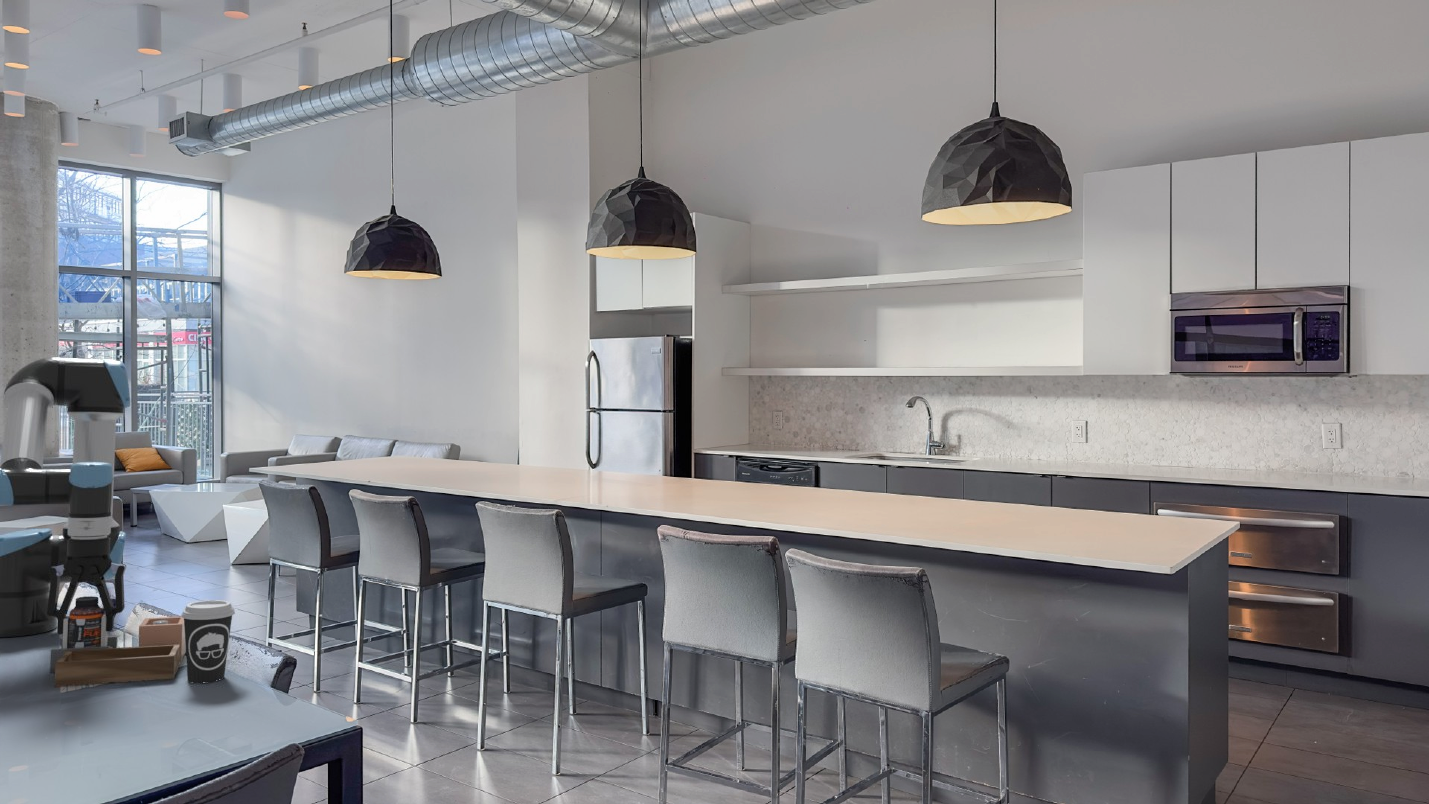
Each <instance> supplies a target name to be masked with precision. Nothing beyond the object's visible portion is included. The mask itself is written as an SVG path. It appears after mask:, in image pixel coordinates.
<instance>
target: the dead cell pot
mask: <svg viewBox="0 0 1429 804" xmlns="http://www.w3.org/2000/svg"><path fill="white" fill-rule="evenodd" d="M137 641H138V643H137V644H138V645H137V647H139V646H156V645H173V644H180V662H179V663H182V661H183V659H184V658H185V656H186V643H185V627H184V618H182V617H181V616H166V617H165V616H164V617H163V616H162V617H145V618H143V620H142V621H141V623H140V624H139V626H138V640H137Z"/></svg>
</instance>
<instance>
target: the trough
mask: <svg viewBox="0 0 1429 804" xmlns="http://www.w3.org/2000/svg"><path fill="white" fill-rule="evenodd" d="M180 663H181V662H180V644H173V645H156V646H139V647H138V646H125V647H117V648H104V649H87V650H69V651H67V652H66V653H65V654H64V655H63V656H62V657H61V658H60V659H59V660H58V661H57V662H56V663H55V673H54V688H56V687H59V688H60V687H73V686H86V685H85V684H88V685H99V684H100V683H102V684H108V683H107V682H116V683H126V681H127V683H129V682H128V681H131V682H142V680H145V681H158V680H157V679H159V680H171V679H173V680H174V677H175V676H176V674H177V671H178V669H179V667H180ZM155 679H156V680H155ZM100 685H101V684H100Z"/></svg>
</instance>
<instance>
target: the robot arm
mask: <svg viewBox="0 0 1429 804" xmlns="http://www.w3.org/2000/svg"><path fill="white" fill-rule="evenodd" d="M129 385H130V384H129V377H128V371H127V367H126V365H125V363H124V362H122V361H120V360H114V359H107V358H106V359H105V358H78V357H77V358H75V357H59V356H51V357H50V356H49V357H44V358H39V359H36V360H34V361H32V362H30V363H28V364H26V365H25V366H23V367H22V368H20V369H19V370H17V371H16V372H15V373H14V375H12V376H11V378H10V379H9V380H8V382H7V384H6V386H5V388H4V392H3V404H4V406H5V407H6V408H7V410H6V419H5V425H4V432H3V433H4V434H3V442H2V448H1V454H0V455H1V456H0V506H7V507H12V506H33V505H34V506H35V505H38V506H40V505H41V506H42V505H68V517H67V518H68V519H67V520H68V521H67V522H66V523H65V524H64V525H62V534H53V531H52V529H51V528H47V527H44V528H32V529H24V530H19V531H12V532H8V533H4V534H0V638H13V637H24V636H32V635H38V634H43V633H48V632H49V631H52V630H55V629H56V630H57V631H56V632H57V634H59V635H60V634H61V635H62V639H63V649H65V648H68V632H69V616H68V612H69V609H70V607H71V604H72V602H73V599H74V597H75V594H76V592H77V590H78V587H79V585H80V583H85V582H86V583H87V582H89V583H94V585H95V587H96V589H97V592H98V594H99V598H100V601H101V604H102V607H103V611H104V613H105V614H103V616H102V622H101V646H107V638H108V636H109V635H108V633H109V632H112V631H113V630H114V627H115V615H116V614H120V613H122V612H123V611H124V610H125V607H126V606H125V586H124V585H125V582H124V574H125V571H126V569H127V564H125V563H122V561H123V557H124V555H123V554H124V551H125V543H126V538H127V533H126V532H124V531H122V530H121V531H120V524H119V523H118V522H117V521H116V520H115V519H114V517H113V510H114V484H115V482H114V481H115V480H114V479H115V458H116V457H115V456H116V455H115V454H116V428H117V425H116V423H117V420H119V419H120V418H121V417H122V416H123V415H124V408H125V409H128V408H129V407H131V397H130V388H129ZM53 406H59V407H60V406H64V407H67V409H66V414H67V415H68V416H69V417H70V418H71V419H72V420H73V422H74V423H73V448H72V449H73V451H72V452H73V453H72V464H71V465H70V468H52V469H50V468H44V456H45V448H46V447H45V446H46V437H47V423H48V422H47V421H48V414H49V411H50V410H51V409H52V407H53ZM109 580H114V590H115V591H114V594H115V596H114V597H115V606H114V605H113V601H112V599H111V595H110V593H109V589H108V586H107V583H106V581H109ZM67 583H68V584H69V585H68V588H67V591H66V593H65V595H64V598H63V601H62V602H61V605H60V608H59V609H58V602H59V593H60V585H61V584H67Z"/></svg>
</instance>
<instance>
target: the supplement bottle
mask: <svg viewBox="0 0 1429 804" xmlns="http://www.w3.org/2000/svg"><path fill="white" fill-rule="evenodd" d="M103 615H104V608H102V607H101V606H100V605H99V596H81V597H80V596H79V597H77V598H76V599H75V606H74V608H73V609H71V610H70V612H69V632H68V648H82V647H100V646H101V622H102V616H103Z"/></svg>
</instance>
